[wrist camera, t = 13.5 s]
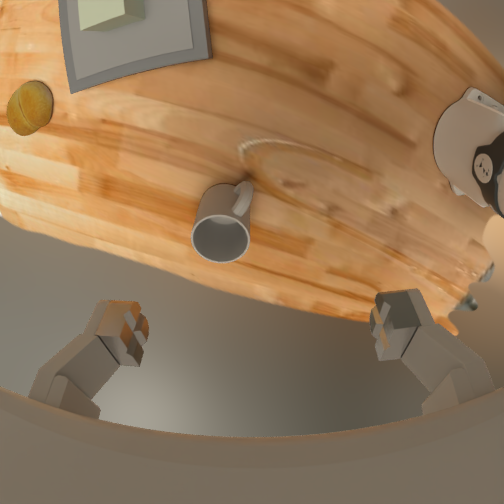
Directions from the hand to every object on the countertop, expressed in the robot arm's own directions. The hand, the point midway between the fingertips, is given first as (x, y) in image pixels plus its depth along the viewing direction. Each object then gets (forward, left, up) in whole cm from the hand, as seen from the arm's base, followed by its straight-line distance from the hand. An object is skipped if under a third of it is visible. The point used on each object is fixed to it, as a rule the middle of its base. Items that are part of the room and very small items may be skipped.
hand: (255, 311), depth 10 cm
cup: (+4, +12, -32) cm, 34 cm away
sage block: (+13, -17, -27) cm, 35 cm away
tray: (+13, -17, -32) cm, 38 cm away
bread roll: (+33, -9, -32) cm, 47 cm away
